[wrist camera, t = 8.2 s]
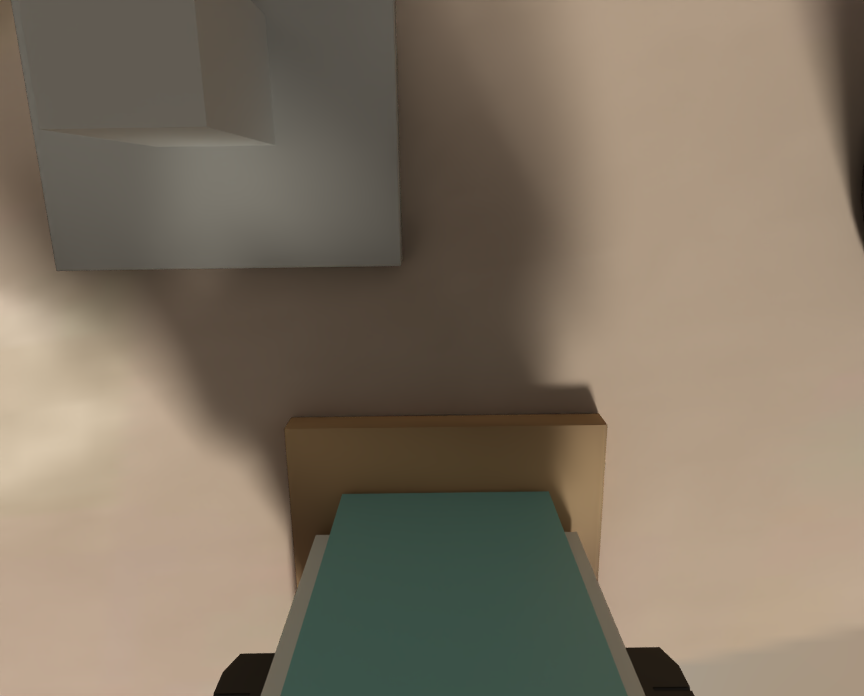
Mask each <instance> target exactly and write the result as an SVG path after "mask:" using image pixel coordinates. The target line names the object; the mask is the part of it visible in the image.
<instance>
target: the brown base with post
mask: <svg viewBox="0 0 864 696" xmlns="http://www.w3.org/2000/svg"><path fill="white" fill-rule="evenodd" d="M284 433H285V445H286V457H287V470H288V482H289V495H290V507H291V520H292V532H293V545H294V557H295V570H296V582H297V588H298V585H299V582H300V580H301V577H302V574H303V571H304V568H305V565H306V562H307V559H308V556H309V553H310V550H311V547H312V545H313V542H314V539H315V536H316V535H330V532H331V529H332V526H333V522H334V519H335V516H336V513H337V509H338V506H339V503H340V500H341V496H342V494H380V493H461V492H541V491H549V493H550V496H551V498H552V501H553V504H554V506H555V509H556V511H557V514H558V516H559V519H560V522H561V524H562V527H563V529H564V532H577V534H578V536H579V538H580V541H581V543H582V546H583V548H584V550H585V553H586V555H587V557H588V560H589V562H590V565H591V567H592V569H593V572H594V574H595V577H596V579H597V581H598V569H599V553H600V536H601V520H602V503H603V487H604V470H605V454H606V437H607V424H606V423H605V421H604V420H603V419H602V417H601V416H600V414H524V415H445V416H365V417H291V419H290V421H289V422H288V424H287V425H286V427H285V429H284Z"/></svg>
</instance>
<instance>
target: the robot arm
mask: <svg viewBox="0 0 864 696" xmlns="http://www.w3.org/2000/svg"><path fill="white" fill-rule="evenodd" d="M565 535H566V537H567V540H568V542H569V545H570V548H571V550H572V553H573V555H574V558H575V561H576V563H577V566H578V568H579V571H580V573H581V576H582V579H583V581H584V584H585V586H586V589H587V592H588V594H589V597H590V599H591V602H592V605H593V607H594V610H595V612H596V615H597V618H598V620H599V623H600V625H601V628H602V630H603V633H604V636H605V638H606V641H607V643H608V646H609V649H610V651H611V654H612V656H613V659H614V662H615V664H616V667H617V669H618V672H619V675H620V677H621V680H622V682H623V685H624V687H625V690H626V693H627V695H628V696H694V694H693V692H692V691H690V687H689V685H688V683H687V681H686V679H685V677H684V675H683V673H682V671H681V669H680V667H679V665H678V664H677V663H676V662H674V661H673V660H672V659H671V658H670V657H669V656H668V655H667V654H666V653H665V652H664V651H663V650H662V649H661V648H660V647H645V648H625V646H624V643H623V641H622V639H621V636H620V634H619V631H618V629H617V627H616V624H615V622H614V619H613V617H612V615H611V612H610V610H609V608H608V605H607V603H606V600H605V598H604V596H603V593H602V591H601V588H600V586H599V584H598V581H597V579H596V577H595V574H594V572H593V569H592V567H591V565H590V562H589V560H588V557H587V555H586V553H585V550H584V548H583V546H582V543H581V541H580V538H579V536H578V534H577V532H565ZM328 539H329V535H316V536H315V539H314V542H313V545H312V547H311V550H310V553H309V556H308V559H307V562H306V565H305V568H304V571H303V574H302V577H301V580H300V582H299V585H298V588H297V591H296V594H295V597H294V600H293V603H292V606H291V609H290V612H289V615H288V617H287V620H286V623H285V626H284V629H283V632H282V635H281V638H280V641H279V644H278V647H277V650H276V652H275V653H256V654H240V655H239V656H238V657H237V658H236V659H235V660H234V661H233V662H232V663H231V664H230V665H229V666H228V667H227V668H226V670H225V671H224V672H223V673H222V675H221V678H220V680H219V682H218V685H217V687H216V689H215V691H214V695H213V696H280V695H281V692H282V689H283V685H284V682H285V679H286V676H287V672H288V669H289V666H290V663H291V659H292V656H293V653H294V649H295V646H296V643H297V640H298V636H299V633H300V630H301V627H302V623H303V620H304V617H305V614H306V610H307V607H308V604H309V601H310V597H311V594H312V591H313V588H314V584H315V581H316V578H317V575H318V571H319V568H320V565H321V562H322V558H323V555H324V552H325V548H326V545H327V542H328Z"/></svg>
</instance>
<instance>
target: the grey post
mask: <svg viewBox="0 0 864 696" xmlns="http://www.w3.org/2000/svg"><path fill="white" fill-rule="evenodd" d="M11 3H12V9H13V15H14V21H15V27H16V32H17V38H18V44H19V50H20V56H21V62H22V68H23V74H24V80H25V86H26V92H27V98H28V104H29V110H30V116H31V122H32V128H33V134H34V140H35V146H36V152H37V157H38V163H39V169H40V175H41V181H42V187H43V193H44V199H45V205H46V211H47V217H48V223H49V229H50V235H51V241H52V247H53V253H54V259H55V265H56V271H80V270H150V269H219V268H289V267H359V266H401V264H402V230H401V193H400V155H399V118H398V81H397V43H396V6H395V0H11Z"/></svg>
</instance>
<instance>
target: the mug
mask: <svg viewBox="0 0 864 696" xmlns="http://www.w3.org/2000/svg"><path fill="white" fill-rule="evenodd" d="M862 209H863V218H864V166H863V181H862Z"/></svg>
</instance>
